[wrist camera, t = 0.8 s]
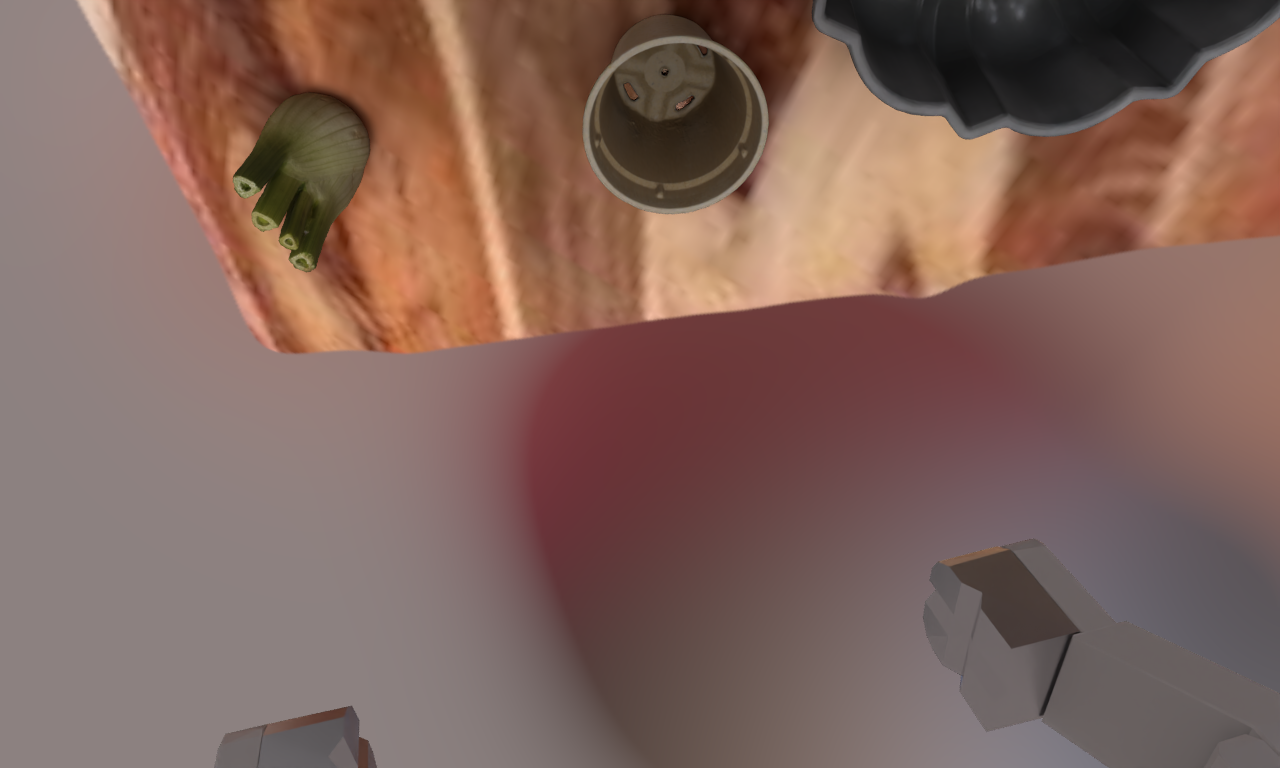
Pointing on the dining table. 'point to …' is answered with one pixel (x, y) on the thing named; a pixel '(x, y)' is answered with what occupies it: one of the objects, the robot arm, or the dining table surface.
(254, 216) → the fennel bulb
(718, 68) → the flower pot
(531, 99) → the dining table surface
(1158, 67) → the bundt pan
